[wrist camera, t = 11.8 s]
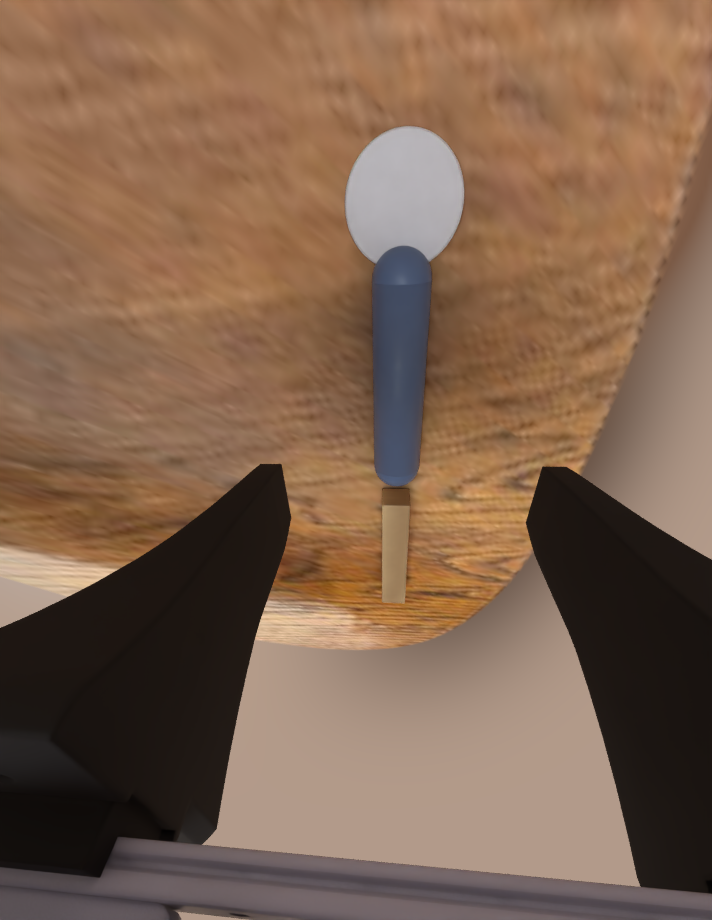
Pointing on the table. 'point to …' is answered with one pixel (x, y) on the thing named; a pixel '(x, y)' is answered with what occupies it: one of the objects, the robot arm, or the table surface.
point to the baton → (394, 543)
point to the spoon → (402, 275)
